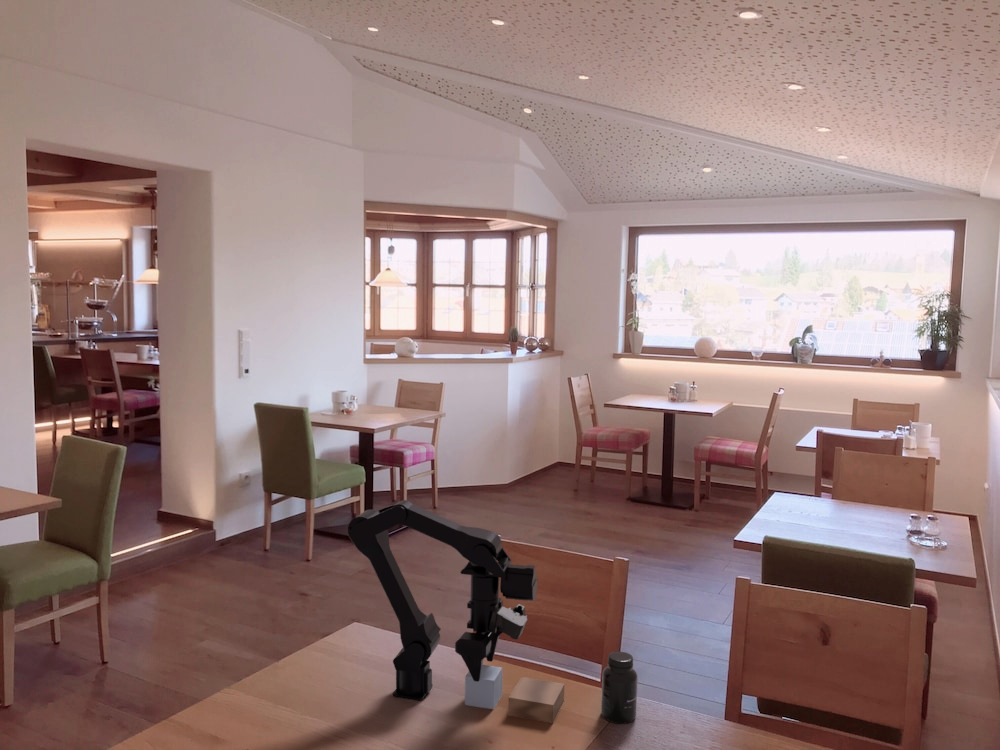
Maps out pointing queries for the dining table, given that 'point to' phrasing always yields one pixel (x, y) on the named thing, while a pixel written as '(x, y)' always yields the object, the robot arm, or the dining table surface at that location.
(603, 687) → the supplement bottle
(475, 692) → the slate cube
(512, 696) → the tan flat square block
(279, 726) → the dining table surface
